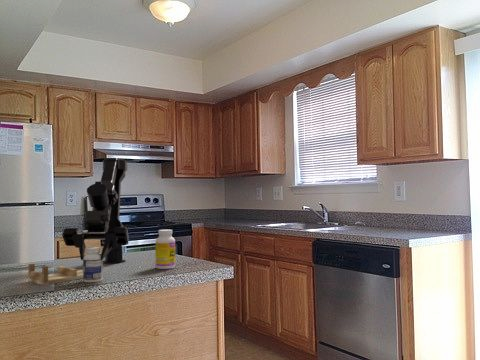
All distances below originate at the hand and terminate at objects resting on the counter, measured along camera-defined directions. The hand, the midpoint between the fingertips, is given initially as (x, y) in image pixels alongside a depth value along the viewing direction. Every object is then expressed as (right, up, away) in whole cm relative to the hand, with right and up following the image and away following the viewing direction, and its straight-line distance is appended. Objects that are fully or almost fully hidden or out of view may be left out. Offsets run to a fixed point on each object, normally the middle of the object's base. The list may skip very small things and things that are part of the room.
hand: (91, 258), depth 123 cm
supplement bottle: (+18, -7, +22) cm, 29 cm away
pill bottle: (0, -7, +1) cm, 7 cm away
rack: (-10, -7, +6) cm, 13 cm away
